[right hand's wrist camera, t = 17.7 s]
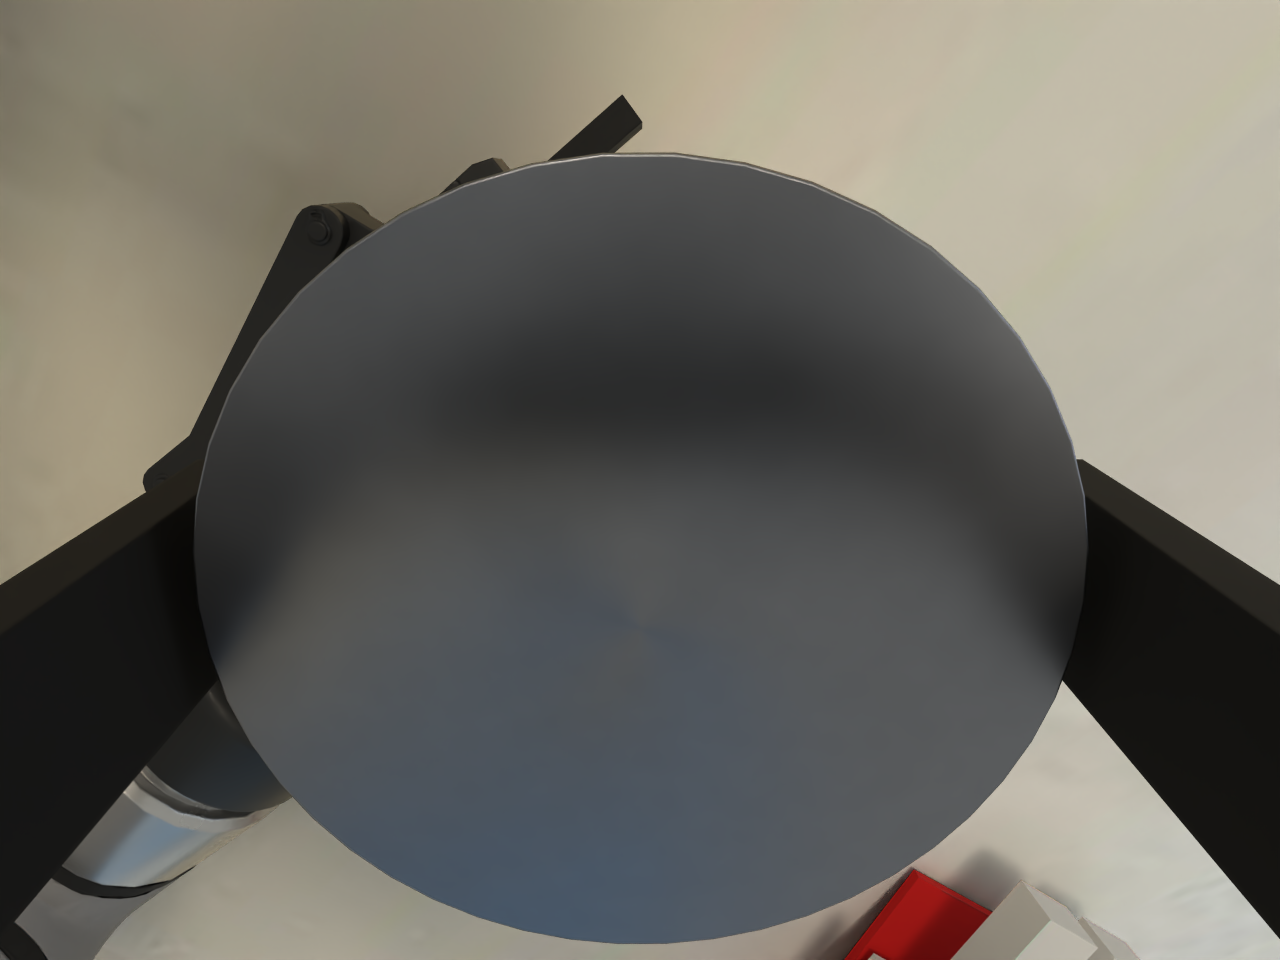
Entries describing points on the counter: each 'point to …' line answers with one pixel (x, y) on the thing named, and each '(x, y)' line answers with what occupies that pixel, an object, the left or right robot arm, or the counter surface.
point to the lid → (640, 548)
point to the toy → (982, 928)
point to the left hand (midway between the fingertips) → (761, 288)
